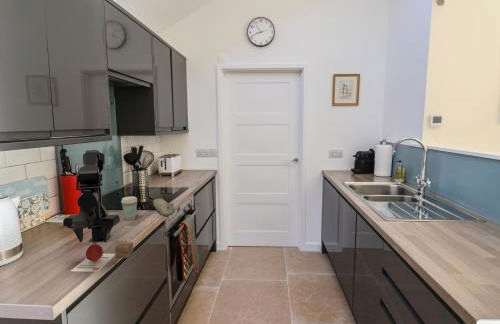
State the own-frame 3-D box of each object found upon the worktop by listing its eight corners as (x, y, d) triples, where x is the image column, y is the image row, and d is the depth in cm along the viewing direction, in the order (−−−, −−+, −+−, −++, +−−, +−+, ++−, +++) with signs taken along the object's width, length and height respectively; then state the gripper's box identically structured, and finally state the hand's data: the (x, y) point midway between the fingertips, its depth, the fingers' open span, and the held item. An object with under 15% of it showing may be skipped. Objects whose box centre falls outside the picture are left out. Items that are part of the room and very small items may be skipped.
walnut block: (121, 253, 116) (120, 241, 115) (133, 253, 116) (133, 242, 115) (115, 259, 111) (115, 247, 110) (128, 259, 111) (127, 247, 110)
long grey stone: (165, 203, 195) (150, 205, 190) (164, 195, 195) (149, 198, 190) (178, 214, 165) (161, 218, 160) (177, 206, 164) (160, 209, 159)
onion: (86, 267, 103) (85, 246, 102) (85, 260, 108) (84, 241, 107) (104, 263, 107) (103, 243, 106) (102, 256, 111) (101, 237, 110)
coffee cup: (120, 221, 153) (119, 200, 151) (124, 216, 161) (123, 196, 160) (136, 220, 155) (135, 199, 153) (139, 215, 163) (138, 195, 161)
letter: (92, 254, 114) (92, 253, 114) (116, 254, 114) (116, 253, 114) (70, 272, 100) (70, 271, 100) (98, 272, 101) (97, 271, 100)
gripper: (50, 208, 96) (54, 251, 98) (104, 208, 96) (107, 251, 98) (71, 199, 107) (74, 238, 109) (119, 200, 107) (121, 239, 109)
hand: (93, 242), depth 106 cm, fingers open, 9 cm apart
